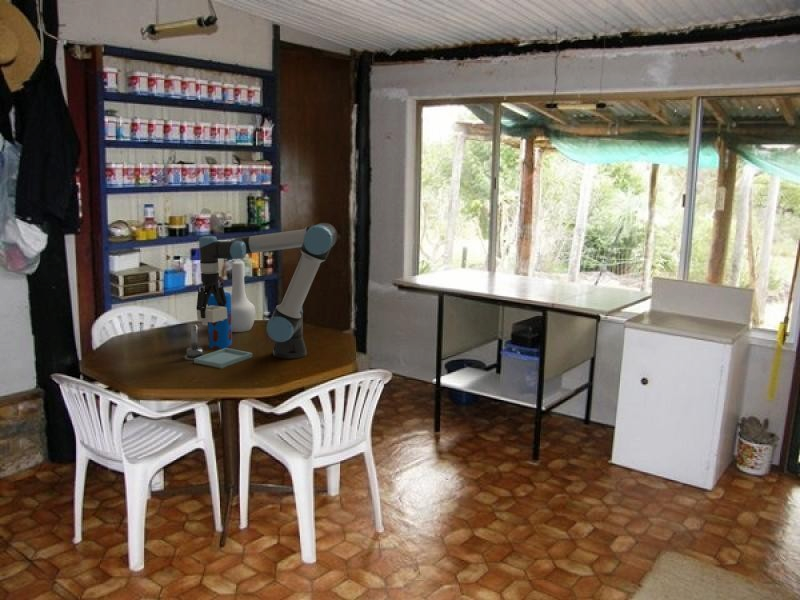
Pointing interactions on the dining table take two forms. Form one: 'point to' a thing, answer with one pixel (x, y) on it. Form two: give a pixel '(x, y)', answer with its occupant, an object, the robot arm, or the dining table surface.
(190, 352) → the stake
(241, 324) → the vase
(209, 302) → the thermos
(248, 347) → the dining table surface
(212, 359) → the tray
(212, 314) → the ring
